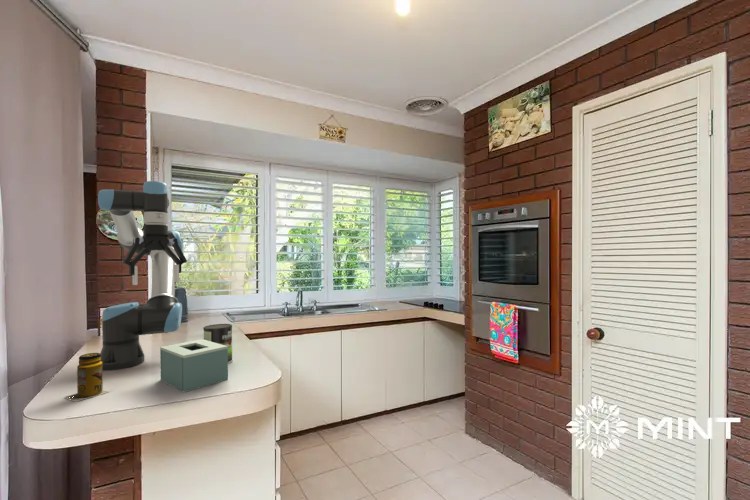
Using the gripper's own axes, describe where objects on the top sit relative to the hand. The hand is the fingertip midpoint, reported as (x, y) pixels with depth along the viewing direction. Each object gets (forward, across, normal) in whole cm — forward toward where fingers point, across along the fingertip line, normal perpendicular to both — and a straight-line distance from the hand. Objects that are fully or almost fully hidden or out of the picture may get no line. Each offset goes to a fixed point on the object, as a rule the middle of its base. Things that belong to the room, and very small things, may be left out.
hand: (156, 283), depth 131 cm
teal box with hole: (+32, +4, -20) cm, 38 cm away
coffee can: (+32, +19, -7) cm, 38 cm away
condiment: (+32, -22, -7) cm, 39 cm away
